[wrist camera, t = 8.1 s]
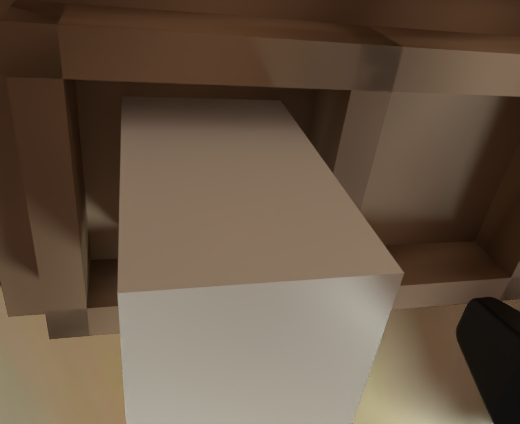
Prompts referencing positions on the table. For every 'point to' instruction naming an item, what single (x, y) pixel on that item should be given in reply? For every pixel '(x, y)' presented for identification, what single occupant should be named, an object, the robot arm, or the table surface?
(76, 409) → the table surface
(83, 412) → the table surface
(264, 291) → the white rectangular block
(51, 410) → the table surface
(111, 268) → the sorting tray
